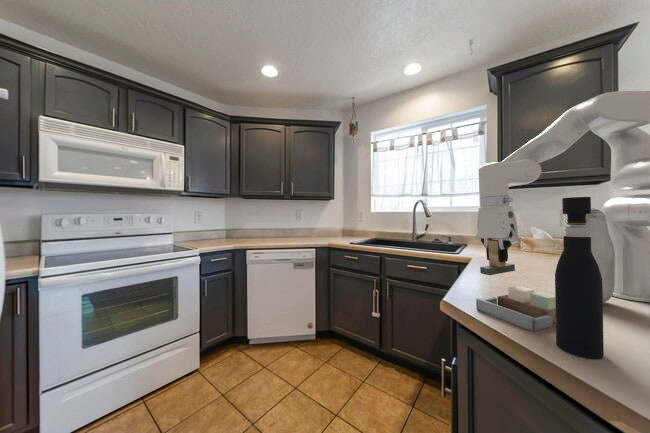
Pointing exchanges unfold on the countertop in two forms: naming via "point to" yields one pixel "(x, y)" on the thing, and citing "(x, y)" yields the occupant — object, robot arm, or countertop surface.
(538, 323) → the tray
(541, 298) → the sage tile
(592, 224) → the white tall rounded piece
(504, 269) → the rubber stamp
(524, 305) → the walnut plate
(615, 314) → the countertop surface
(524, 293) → the cream block
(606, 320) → the countertop surface
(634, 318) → the countertop surface
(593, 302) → the black bottle
